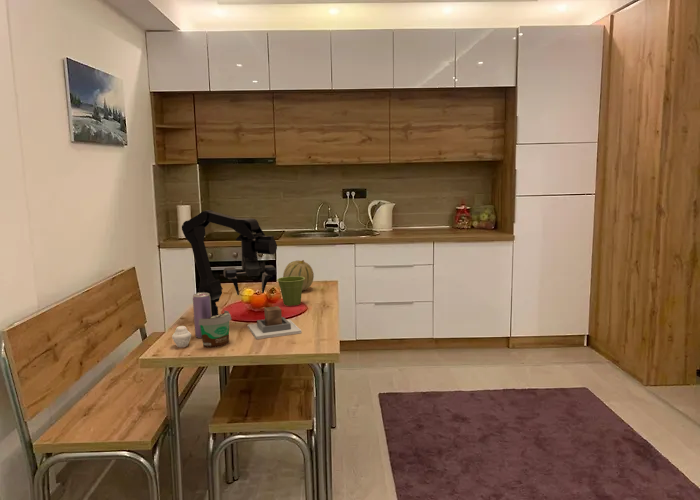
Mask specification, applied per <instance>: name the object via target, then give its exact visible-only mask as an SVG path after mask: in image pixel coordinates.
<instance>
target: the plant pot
mask: <svg viewBox="0 0 700 500" xmlns="http://www.w3.org/2000/svg"><path fill="white" fill-rule="evenodd" d="M304 279H305V278H304V277H299V276H290V277H283V276H282V277H278V278H277V279H276V281H277V282H278V286H279V288H280V293H281V297H282V302H283V305H284V306H285V305H286V307H292V306H295V305H296V306H298V305H301V303H302V302H301V301H302V293H303V291H302V286H303V281H304ZM296 306H295V307H296Z"/></svg>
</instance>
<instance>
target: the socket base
mask: <svg viewBox="0 0 700 500" xmlns="http://www.w3.org/2000/svg"><path fill="white" fill-rule="evenodd" d="M247 329H248V330H249V332H250V333H251V334H252V336H253V337H254V339H255V340H261V339H269V338H275V337H284V336H285V337H286V336H291V335H297V334H302V332H303V331H302V329H301V328H299V326H297V325H296V323H294V322H293V321H292V320H291V318H288V319H286V318H285V317H284V316H282V324H279V325H272V326H265V318H264V319H258V320H256V323H249V324H247Z"/></svg>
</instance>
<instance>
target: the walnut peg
mask: <svg viewBox="0 0 700 500" xmlns="http://www.w3.org/2000/svg"><path fill="white" fill-rule="evenodd" d="M263 312H264V319H265V326H272V325H279V324H282V317H283V316H282V308H280V306H277V305H276V306H270V307H269V306H268V307H264V311H263Z"/></svg>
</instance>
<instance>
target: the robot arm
mask: <svg viewBox="0 0 700 500" xmlns="http://www.w3.org/2000/svg"><path fill="white" fill-rule="evenodd" d="M211 223H212V224H214V225H215V224H216V225H219V226H222V227H225V228H230V229H232V230H234V232H236V233H238V234H239V236H237V237H236V238H235V241H238V242H241V243H240V245H241V246H240V247H241V249H240V250H241V269H236V268H235V267H225V268H224V269H223V277H224V278H225V279H228V280H229V281H231V282H232V284H233V286H234V289H235V291H236V294H237V296H240V290H239V282H238V277H237V275H246V277H252V276H255V277H259V276H260V275H261V274H262V275H261V293H262V294H264V293H265V290H266V287H267V283H268V281H269V280H270V278H273V276H275V275H276V276H277V268H276V267H275V266H274V265H272V264H269V265H268V264H267V265H266V261H259V259H258V255H259V254H260V255H271V256H272V255H275V254H276V252H277V250H278V244H277V241H276V240H275V238H274V235H266V234H265V232H264V231H263V229H262V228H261V226H260V224H259V221H258V220H257V219H256V218H251V217H250V218H249V217H235V216H232V215H228V214H224V213H221V212H217V211H214V210H212V209H208V210H202V211H201V212H200V213H199V214H197V215H195V216H193V217H191V218H190V219H188V220H185V221H183V223H182V225H181V231H182V233H183V236H184V238H185V239H186V240H187V242H189V244H190V245H191V249H192V253H193V257H194V261H195V265H196V268H197V271H198V272H197V273H198V275H199V279H200V281H199V285H198V291H199V292H198V293H209V294H210V297H211V312H212V316H214V315H219V307H218V306H217V303H219V302H220V299H221V296H222V294H223V287H222V282H221V280H220V279H216V278H215V277H214V275H213V271H212V267H211V263H210V260H209V255H208V251H207V247H206V244H205V236H206V227H208V226H210V224H211Z"/></svg>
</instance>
